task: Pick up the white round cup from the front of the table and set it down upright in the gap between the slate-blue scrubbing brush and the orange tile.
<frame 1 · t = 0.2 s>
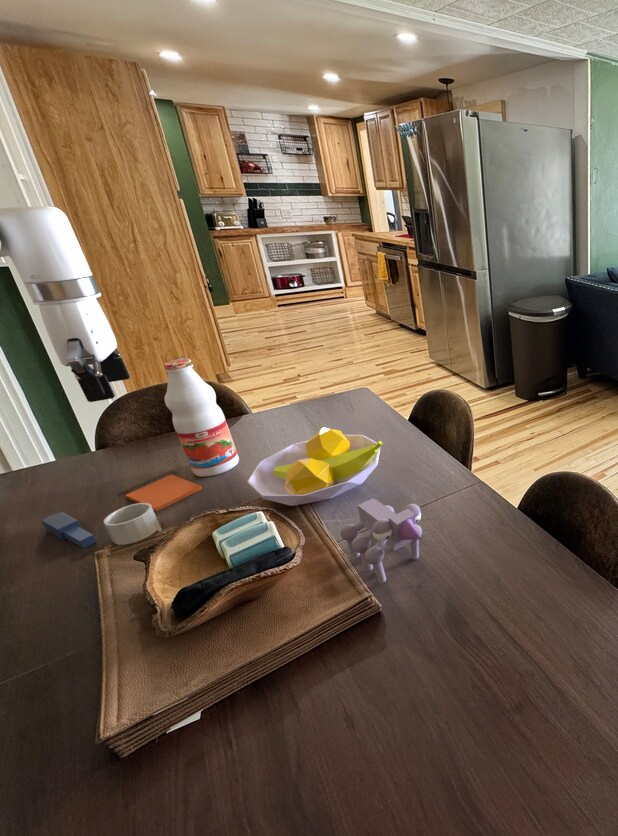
hand: (110, 389, 81), 32 cm above the table, tool pointing down, fingers open, 9 cm apart
white round cup: (139, 538, 94), on the table
toy sheep: (397, 566, 87), on the table
orange tile: (165, 493, 108), on the table
fruit juice: (217, 467, 118), on the table
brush: (73, 536, 95), on the table
fruit bowl: (328, 484, 111), on the table
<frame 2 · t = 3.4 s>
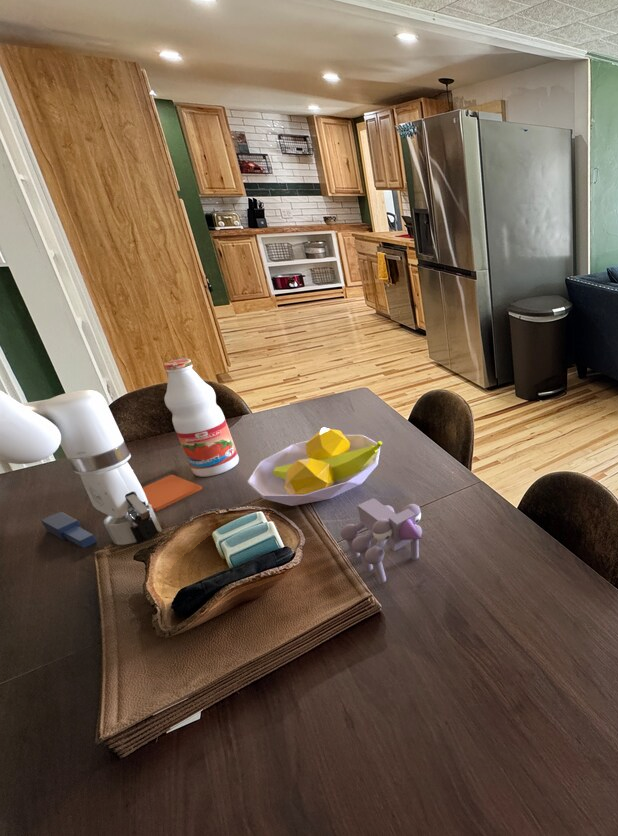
hand: (137, 533, 94), 1 cm above the table, tool pointing down, fingers closed on white round cup, 6 cm apart
white round cup: (139, 538, 94), on the table, touching gripper
everything else where it was.
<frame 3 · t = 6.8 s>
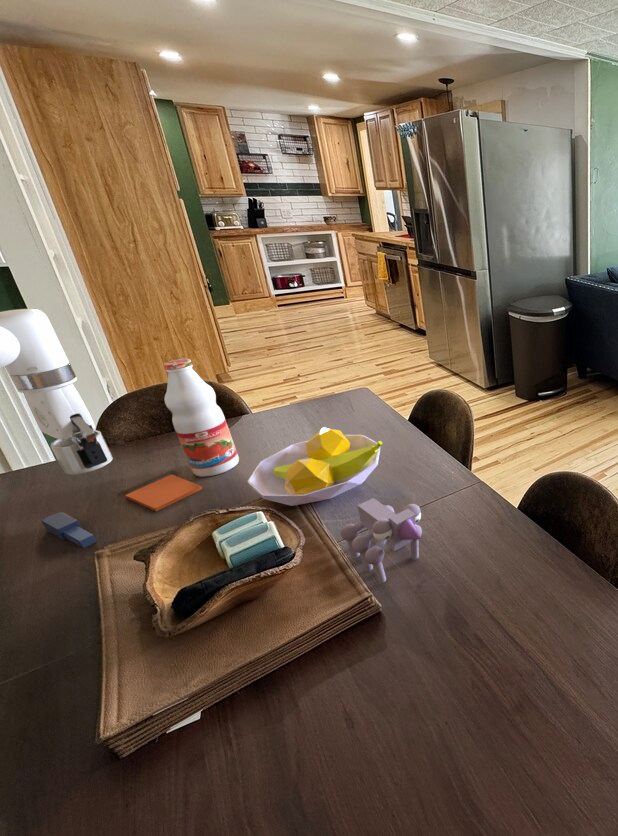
hand: (86, 459, 94), 15 cm above the table, tool pointing down, fingers closed on white round cup, 6 cm apart
white round cup: (89, 464, 94), point 13 cm above the table, touching gripper
everything else where it was.
when the fingers open (1 cm above the table, at t = 10.4 s): white round cup stays where it is, on the table.
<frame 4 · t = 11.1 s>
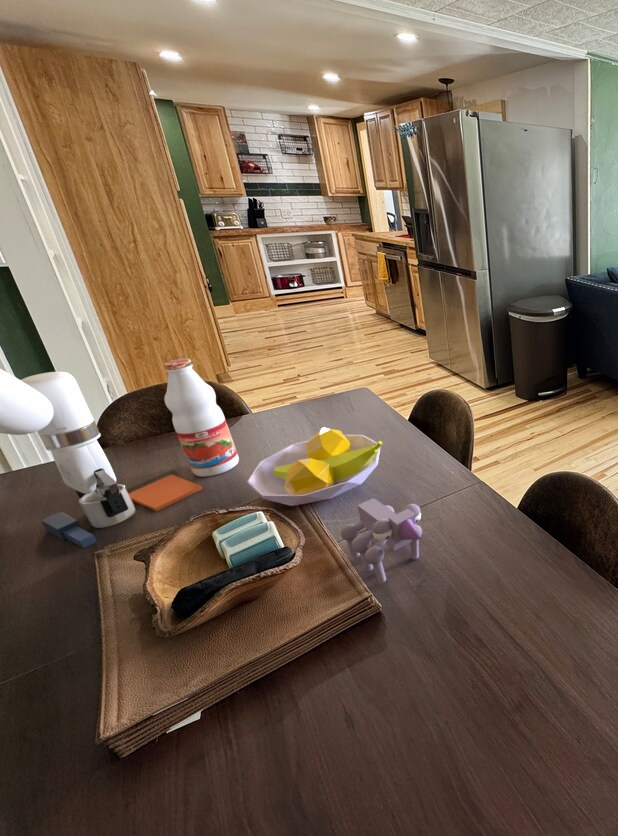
hand: (105, 507, 98), 3 cm above the table, tool pointing down, fingers open, 9 cm apart
white round cup: (114, 517, 100), on the table
everything else where it was.
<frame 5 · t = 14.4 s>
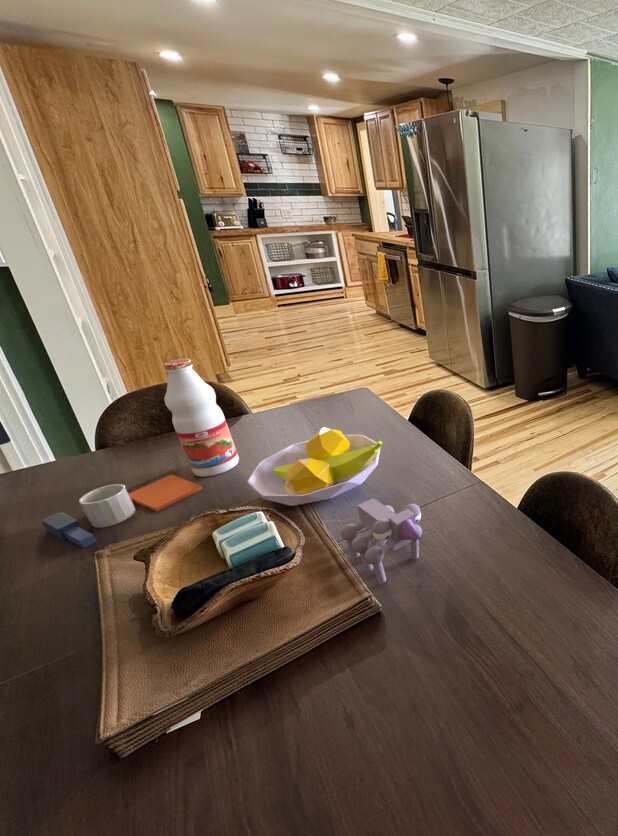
nothing on the table moved.
at the end: white round cup 0.1 cm from the target spot, on the table; white round cup tilted 0°; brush moved 0.0 cm from its start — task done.
